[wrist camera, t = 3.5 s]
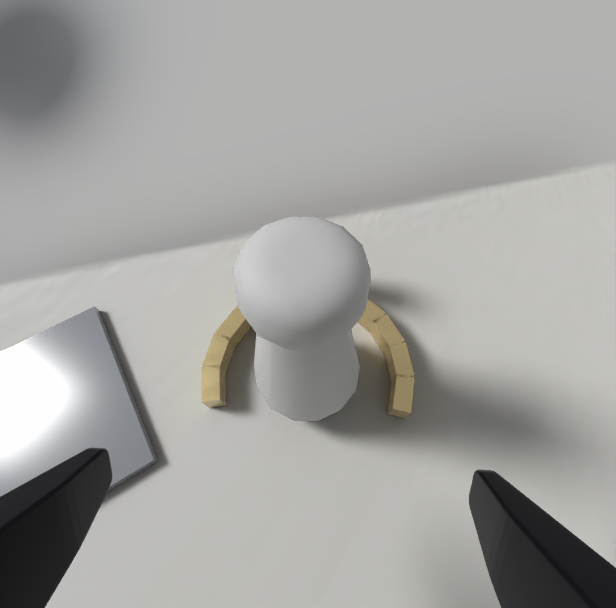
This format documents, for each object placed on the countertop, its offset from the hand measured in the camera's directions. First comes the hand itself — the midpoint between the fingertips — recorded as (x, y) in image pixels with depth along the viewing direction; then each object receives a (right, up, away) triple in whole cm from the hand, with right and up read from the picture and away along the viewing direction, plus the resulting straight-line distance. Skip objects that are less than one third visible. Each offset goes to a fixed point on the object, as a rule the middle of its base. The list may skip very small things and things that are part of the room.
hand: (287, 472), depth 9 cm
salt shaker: (+1, -1, +13) cm, 13 cm away
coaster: (-15, -3, +12) cm, 20 cm away
